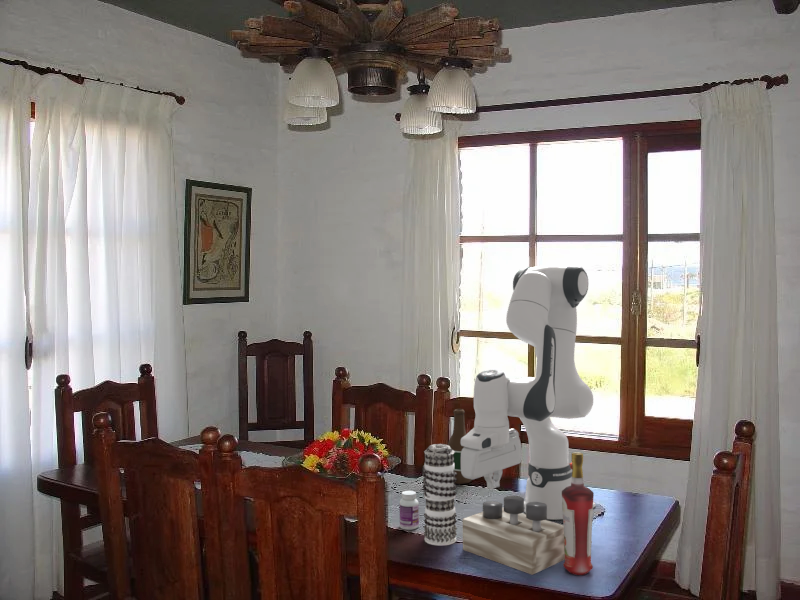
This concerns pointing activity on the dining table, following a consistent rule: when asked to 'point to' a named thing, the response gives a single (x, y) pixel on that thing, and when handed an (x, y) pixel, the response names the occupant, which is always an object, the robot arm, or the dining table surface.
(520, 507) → the knob
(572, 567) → the liquor
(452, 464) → the decorative candle
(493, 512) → the knob
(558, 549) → the console
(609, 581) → the dining table surface
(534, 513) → the knob
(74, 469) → the dining table surface
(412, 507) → the pill bottle
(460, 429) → the beer bottle
